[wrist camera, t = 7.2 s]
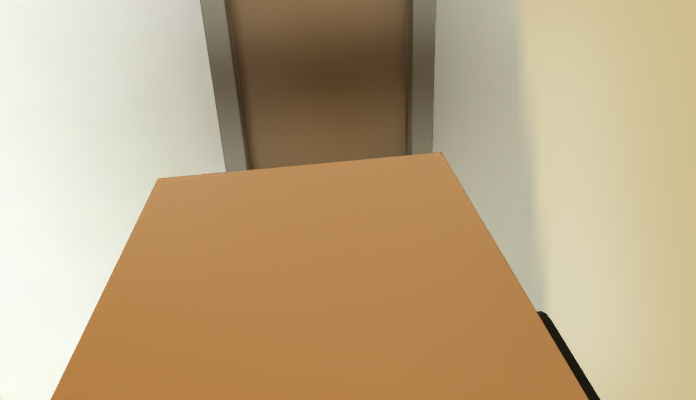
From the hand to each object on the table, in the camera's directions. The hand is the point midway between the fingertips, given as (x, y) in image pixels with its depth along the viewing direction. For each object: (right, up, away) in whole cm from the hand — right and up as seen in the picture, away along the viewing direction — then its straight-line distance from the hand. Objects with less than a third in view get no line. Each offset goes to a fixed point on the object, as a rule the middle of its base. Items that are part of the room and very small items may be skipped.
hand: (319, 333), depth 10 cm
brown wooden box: (-1, +8, +15) cm, 17 cm away
